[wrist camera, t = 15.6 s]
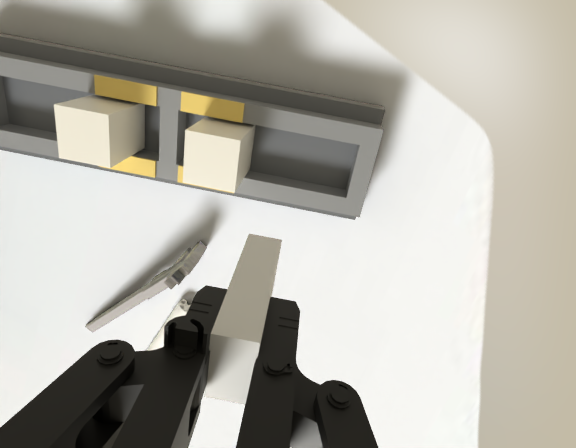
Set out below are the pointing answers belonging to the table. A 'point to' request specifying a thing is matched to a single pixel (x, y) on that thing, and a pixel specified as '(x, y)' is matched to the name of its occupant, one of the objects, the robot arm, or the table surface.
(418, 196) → the table surface
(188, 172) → the tab
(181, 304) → the marker
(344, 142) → the switch board
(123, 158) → the tab
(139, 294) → the caliper
